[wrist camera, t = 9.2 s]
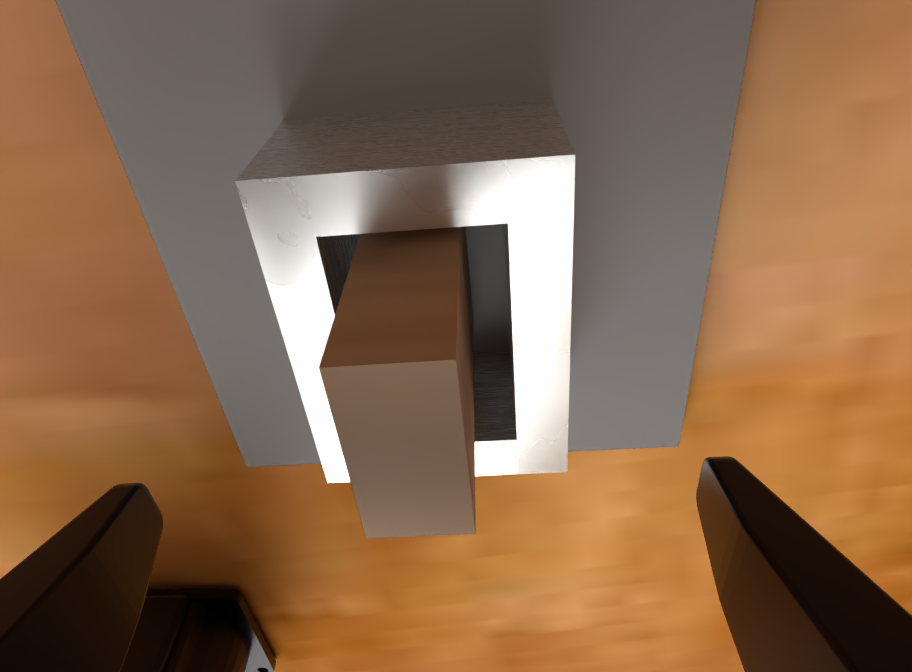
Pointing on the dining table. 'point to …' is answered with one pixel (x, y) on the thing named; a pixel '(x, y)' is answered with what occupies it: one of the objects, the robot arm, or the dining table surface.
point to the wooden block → (406, 382)
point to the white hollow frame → (428, 207)
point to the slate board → (421, 87)
